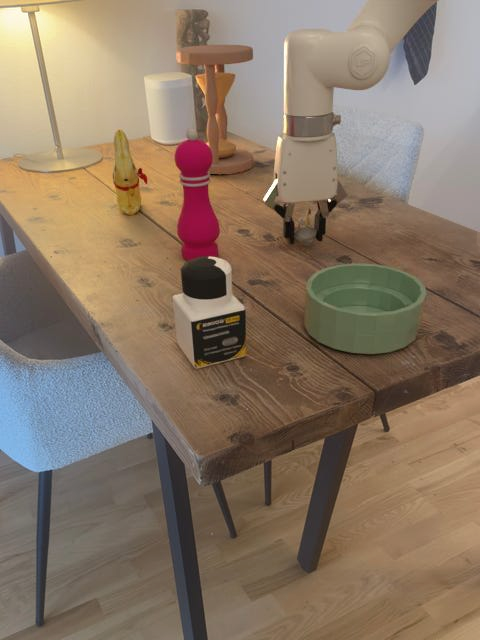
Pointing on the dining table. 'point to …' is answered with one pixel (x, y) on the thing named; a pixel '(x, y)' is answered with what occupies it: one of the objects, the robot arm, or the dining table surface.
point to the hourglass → (219, 101)
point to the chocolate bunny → (126, 176)
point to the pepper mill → (196, 199)
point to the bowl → (364, 308)
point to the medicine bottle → (209, 313)
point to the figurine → (304, 232)
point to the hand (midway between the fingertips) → (304, 239)
